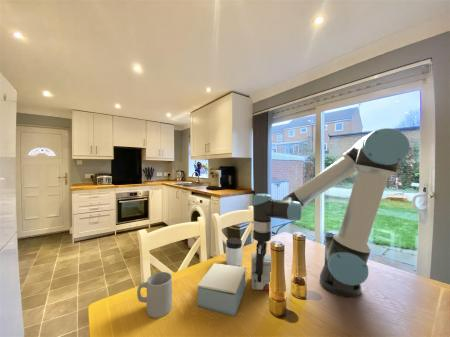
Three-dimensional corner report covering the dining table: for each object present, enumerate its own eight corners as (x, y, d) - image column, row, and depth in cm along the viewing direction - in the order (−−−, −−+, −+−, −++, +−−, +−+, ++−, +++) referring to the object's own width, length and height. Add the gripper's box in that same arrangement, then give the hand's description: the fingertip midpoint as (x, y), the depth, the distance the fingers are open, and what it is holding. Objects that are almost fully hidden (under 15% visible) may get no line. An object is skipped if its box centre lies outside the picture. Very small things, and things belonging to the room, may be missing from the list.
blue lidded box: (245, 288, 81) (245, 271, 81) (235, 316, 65) (235, 295, 65) (214, 281, 85) (214, 265, 85) (197, 306, 70) (197, 287, 70)
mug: (174, 300, 73) (174, 271, 73) (168, 317, 65) (168, 285, 64) (141, 301, 72) (141, 272, 72) (132, 319, 64) (132, 286, 64)
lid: (245, 269, 81) (245, 267, 81) (235, 293, 65) (235, 291, 65) (214, 264, 85) (214, 263, 85) (197, 286, 70) (197, 285, 70)
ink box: (270, 278, 87) (270, 252, 87) (272, 291, 79) (273, 262, 79) (250, 277, 88) (251, 251, 88) (251, 289, 80) (251, 261, 80)
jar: (233, 269, 95) (233, 245, 95) (222, 263, 101) (222, 240, 100) (245, 263, 101) (245, 240, 101) (234, 257, 107) (234, 236, 107)
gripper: (257, 222, 95) (256, 267, 95) (248, 237, 74) (247, 295, 74) (272, 223, 92) (272, 269, 93) (268, 240, 71) (267, 300, 72)
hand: (261, 281), depth 83 cm, fingers closed on ink box, 9 cm apart
